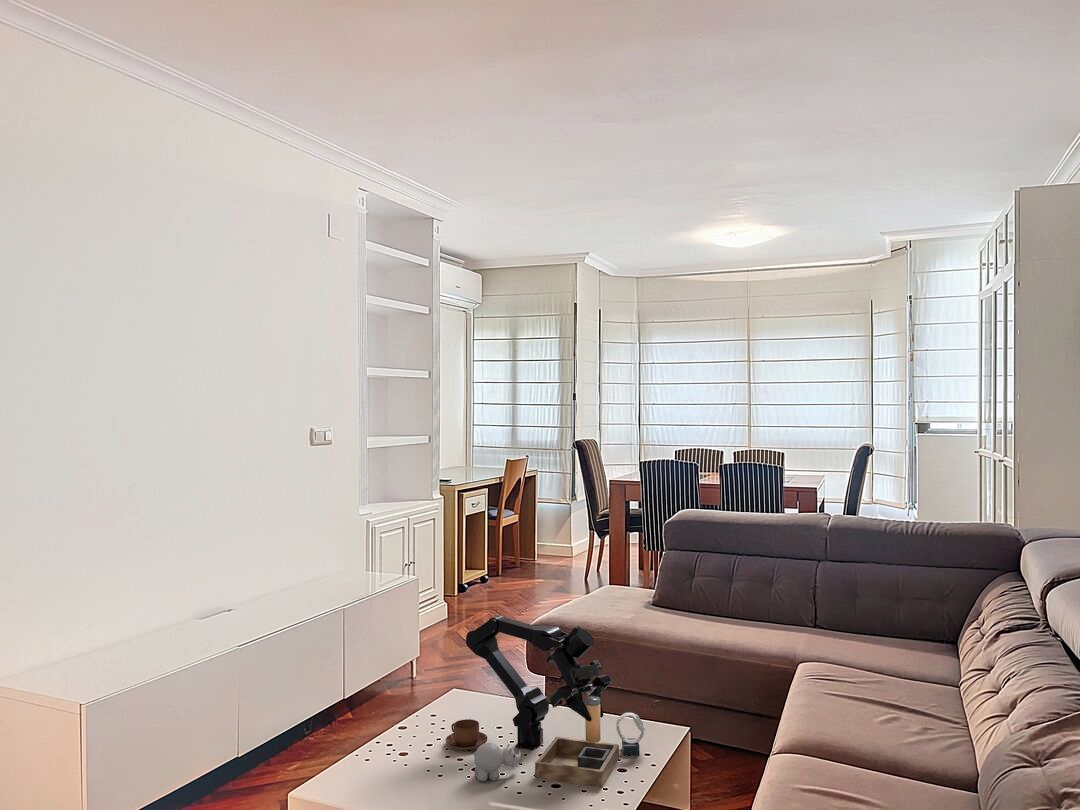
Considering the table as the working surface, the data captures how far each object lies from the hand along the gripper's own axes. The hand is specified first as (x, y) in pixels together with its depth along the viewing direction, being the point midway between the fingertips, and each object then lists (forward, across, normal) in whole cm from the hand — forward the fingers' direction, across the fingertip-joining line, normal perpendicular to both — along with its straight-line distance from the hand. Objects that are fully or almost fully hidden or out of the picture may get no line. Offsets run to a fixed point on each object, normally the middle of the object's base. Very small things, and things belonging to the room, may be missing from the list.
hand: (596, 718), depth 223 cm
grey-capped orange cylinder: (+3, 0, +5) cm, 6 cm away
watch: (+9, +14, +10) cm, 20 cm away
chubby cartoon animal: (0, -23, +20) cm, 30 cm away
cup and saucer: (-16, -17, +36) cm, 42 cm away
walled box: (+8, -4, +11) cm, 14 cm away
